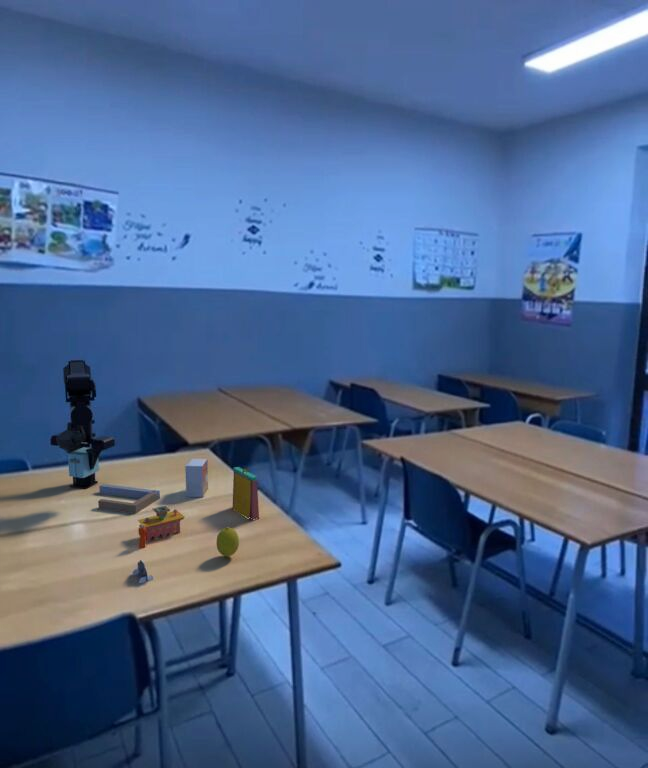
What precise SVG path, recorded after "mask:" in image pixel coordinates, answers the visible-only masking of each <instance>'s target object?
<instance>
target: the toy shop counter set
mask: <svg viewBox="0 0 648 768" xmlns="http://www.w3.org/2000/svg"><path fill="white" fill-rule="evenodd" d="M232 471H233V478H232V479H233V480H232V481H233V486H232V487H233V488H232V489H233V490H232V508H231V510H232V509H233V511H234V510H235V511H234V512H236V511H237V512H238V513H237V512H236V513H237V514H239V513H240V514H242V515H244V516H246V517H247V518H249V517H250V518H252V519H256V518H259V519H260V514H259V513H260V510H259V494H258V479H257V478H258V476H257V475H255V474H253V473H251V472H249V471H248V470H247V469H246V468H241V467H239V466H236V467H233V470H232ZM152 511H153V512H154V513H155V514H156V515H154V516H153V515H152V516H149V517H145V518H141V519H137V522H138V523H140V524H139V528H138V536H139V542H138V549H145V548H146V543H147V541H148V542H150V541H152V537H153V538H154V540H159V537H160V535H161V537H162V538H166V537H167V534H169V536H173V535H174V534H175V532H176V533H177V534H180V533H181V521H182V520H184V519H185V518H186V516H185V515H183V514H182V513H181V512H179V511H178V510H177V509H176V508H175V509H173V511H171V509H170V508H169V507H167V506H166V505H162V506H159V507H154V508H152ZM240 514H239V515H240ZM242 515H241V516H242ZM250 518H249V519H250ZM252 519H251V520H252Z"/></svg>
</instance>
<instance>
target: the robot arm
mask: <svg viewBox="0 0 648 768" xmlns="http://www.w3.org/2000/svg"><path fill="white" fill-rule="evenodd" d="M62 371H63V373H62V374H63V384H64V389H65V392H64V393H65V403H69V412H70V413H69V414H70V415H69V416H70V422H67V424H66V427H67V428H66V430H63V431H62V432H59V433H55V434H53V435H52V436H51V437H50V441H49V442H50V446H58V447H59V449H61V450H64V451H65V452H66V453H67V454H68V453H71V452H73V451H76V450H78V449H81V448H83V447H86V448H89V449H87V450H85V451H86V452H87V453H88V455H89V467H90V470H92V469H94V466H95V464H96V461H97V459H98V460H99V457H100V454H101V453H102V451H105V450H109V449H110V448H112V447H115V446H116V441H115V438H114V437H113V436H106V435H101V436H98V437H96V432H93V424H95V421H96V420H95V419H93V417H94V416H93V411H92V405H91V402H93V401H95V398H97V389H96V383H95V381H94V380H93V379H92V372H91V371H92V370H91V367H90V366H89V365H88V364H86V360H84V359H71V360H69V361H68V364H67V365H65V366H64V367H63V368H62ZM94 437H96V438H94ZM98 483H99V482H98V480H96V472H95V473H93V474H91V475H89V476H87V477H85V478H79V477H72V484H70V485H69V487H70V488H80V489H88V488H90V487H92V486H94V485H95V484H98Z"/></svg>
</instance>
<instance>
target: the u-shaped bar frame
mask: <svg viewBox="0 0 648 768" xmlns="http://www.w3.org/2000/svg"><path fill="white" fill-rule="evenodd" d="M98 487H99V494H102V495H111V496H119V497H124V498H125V497H126V498H132V499H133V498H135V499H137V500H135V501H134V502H128V501H119V500H113V499H112V500H111V499H106V498H105V499H104V498H101V499H99V500H97V504H98V509H100V510H106V511H107V510H108V511H113V512H122V513H129V514H135V515H136V514H138V513H139V512H141V511H143V510H144V509H145V508H147V507H148V506H149V507H150V506H151V505H152V504H153V503H155V502H157V501H158V500H159V499H161V494H160V493H161V491H160V490H156V489H147V488H140V487H138V488H137V487H132V486H131V487H130V486H124V485H123V486H122V485H113V484H109V483H108V484H106V483H102V484H100V485H99V486H98Z"/></svg>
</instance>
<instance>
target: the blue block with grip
mask: <svg viewBox="0 0 648 768" xmlns="http://www.w3.org/2000/svg"><path fill="white" fill-rule="evenodd" d="M87 449H89V448H86V447H83V448H81V449H78V450H76V451H73V452H71V453H67V461H68V463H67V464H68V476H69V477H72V478H73V477H79V478H85V477H87V476H89V475H91V474H93V473H95V474H96V473H97V472H99V471H100V465H99V458H98V459H97V461H96V464H95V466H94V469H92V470H90V467H89V455H88V453H87V452H86V451H85V450H87Z"/></svg>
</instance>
